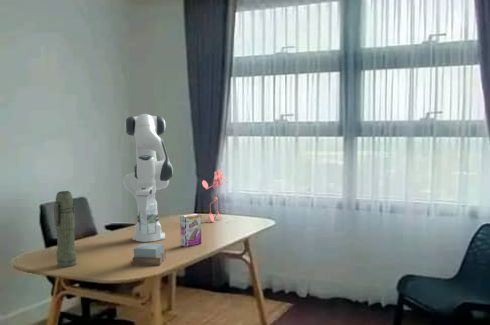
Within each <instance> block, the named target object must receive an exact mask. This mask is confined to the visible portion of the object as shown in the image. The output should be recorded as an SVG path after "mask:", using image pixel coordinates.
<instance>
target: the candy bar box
mask: <svg viewBox="0 0 490 325" xmlns="http://www.w3.org/2000/svg"><path fill="white" fill-rule="evenodd" d="M179 220H180V222H179V224H180V226H179V227H180V246H181V247H185V248H188V247H192V246H197V245H201V244H202V214H199V213H192V214H185V215H180V219H179Z"/></svg>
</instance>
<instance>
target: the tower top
mask: <svg viewBox="0 0 490 325" xmlns="http://www.w3.org/2000/svg"><path fill="white" fill-rule="evenodd" d="M164 251H165V245H164V243H145V242H144V243H141V244H139V245H138V246H136V247H134V248H133V257H149V258H156V257H158V256H159V255H161V254H162V253H163V252H164Z"/></svg>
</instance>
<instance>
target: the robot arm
mask: <svg viewBox="0 0 490 325" xmlns="http://www.w3.org/2000/svg"><path fill="white" fill-rule="evenodd" d="M166 127H167V126H166V121H165V118H164V116H160V115H150V114H148V113H142V114H140V115H137V116H134V115H133V116H129V117H127V118H126V119H125V122H124V130H125V133H126V134H127V135H128V136H132V137H133V136H134V138H135V157H136V158H135V160H136V164H135V165H134V166H133V168H134V172H130V173H126V175H125V176H124V178H123V186H124V188H125V189H126V190H127V191H128V192H130V194H132V195H133V197H134V198H135V201H136V207H137V215H136V222H137V223H136V224H135V225H134V236H133V237H131V240H133V241H136V242H144V243H145V242H147V243H148V242H156V241H162V240H165V239H166V233H165V232H163V230H162V225H161V223H160V221H159V213H158V202H157V200H156V193H157V191H159V190H162V189H163V190H164V189H166V188H167V187H168V185H170V180H171V179H172V177H173V174H174V168H173V165H172V164H171V161H170V158H169V155H168V150H167V148H166V144H165V142H164V139H163V138H162V137H160V136H161V135H163V134H164V133H165V130H166ZM157 154H158V155H159V158H160V160H158V159H157ZM151 203H154V204H156V233H154V234H149V235H145V234H140V227H139V212H142V215H143V220H147V211H148V210H149V209H150V204H151Z"/></svg>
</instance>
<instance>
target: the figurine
mask: <svg viewBox="0 0 490 325" xmlns="http://www.w3.org/2000/svg"><path fill="white" fill-rule="evenodd" d="M223 174H224V172H222V171H221V169H220V168H219V169H217V170H216V171H214V173H213V175H214V177H213V182H212V185H211V186H209V184H208V182H207V181H206V180H205V179H203V180H202V181H201V183H202V186H203V188H205V190H208V189H210V188H213V190H214V191H215V192H217V188H220V186H221V185H222V184H223V181H222V180H224V181H225V182H226V183H229V181H228V180H227V179H226V178H225V177H224V176H223ZM218 201H219V199H218V196H217V193H215V197H214V198H213V201H212V202H211V203H210V204H209V205H211V204H213V203H214V202H216V206H217V207H216V208H217V210H216V215H215V217H214V215H213V213H212V208H211V206H209V211H210V212H209V214H208V219H207V221H206V222H209V220H210V222H212V223H215V220H216V218H217V216H219V217H220V219H221V220H223V217H222V216H221V214H220V213H219V205H218ZM228 223H229V221H228V222H227V221H226V224H228Z"/></svg>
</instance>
